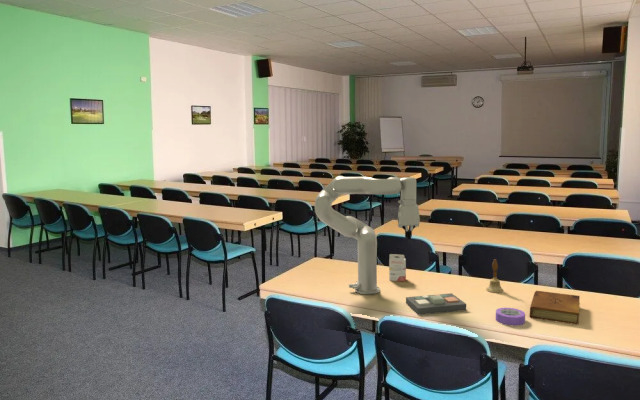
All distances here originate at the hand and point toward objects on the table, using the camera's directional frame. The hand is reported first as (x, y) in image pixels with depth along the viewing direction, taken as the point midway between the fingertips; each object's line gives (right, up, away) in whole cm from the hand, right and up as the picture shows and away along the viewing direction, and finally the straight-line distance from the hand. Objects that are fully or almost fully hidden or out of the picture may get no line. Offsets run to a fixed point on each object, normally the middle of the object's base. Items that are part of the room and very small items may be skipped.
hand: (408, 238), depth 248 cm
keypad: (+9, -30, -19) cm, 37 cm away
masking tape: (+37, -32, -37) cm, 61 cm away
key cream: (+2, -29, -22) cm, 37 cm away
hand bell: (+44, -26, +2) cm, 51 cm away
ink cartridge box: (-2, -24, +23) cm, 33 cm away
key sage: (+9, -28, -21) cm, 36 cm away
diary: (+60, -31, -29) cm, 73 cm away
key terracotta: (+16, -29, -20) cm, 38 cm away
